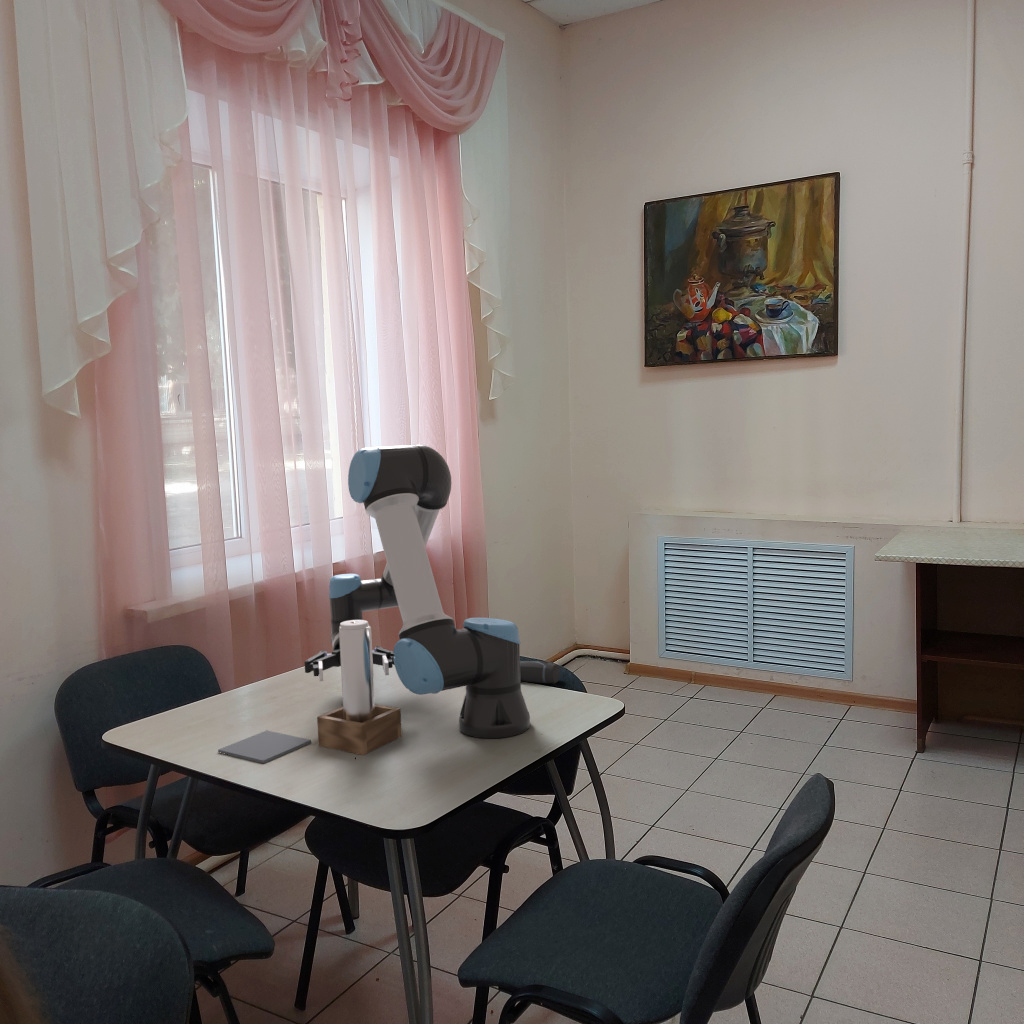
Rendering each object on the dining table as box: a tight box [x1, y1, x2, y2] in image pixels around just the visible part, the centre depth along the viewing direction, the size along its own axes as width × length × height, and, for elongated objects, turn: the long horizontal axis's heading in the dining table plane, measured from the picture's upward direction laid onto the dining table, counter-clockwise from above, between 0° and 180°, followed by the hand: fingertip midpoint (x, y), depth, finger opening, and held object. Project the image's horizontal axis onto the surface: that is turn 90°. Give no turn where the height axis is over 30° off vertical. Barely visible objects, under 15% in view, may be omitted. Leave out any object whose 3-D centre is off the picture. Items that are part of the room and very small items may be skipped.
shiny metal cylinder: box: [339, 619, 376, 723], centre depth 188 cm, size 6×6×25 cm
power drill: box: [520, 660, 560, 685], centre depth 228 cm, size 5×19×20 cm
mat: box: [217, 730, 312, 764], centre depth 187 cm, size 13×13×1 cm
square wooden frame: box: [316, 703, 403, 756], centre depth 189 cm, size 12×12×6 cm
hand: (354, 672), depth 192 cm, fingers open, 13 cm apart
